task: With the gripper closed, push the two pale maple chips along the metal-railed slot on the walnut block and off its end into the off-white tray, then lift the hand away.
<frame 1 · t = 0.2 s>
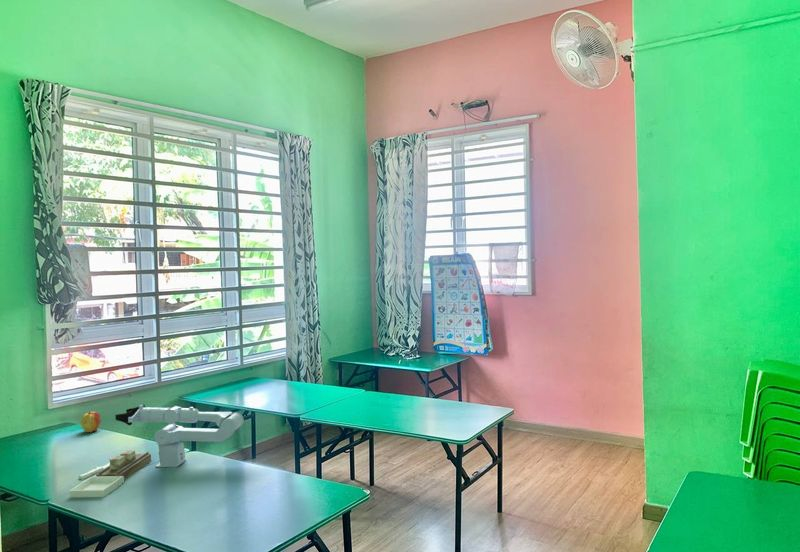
hand: (121, 414, 237), 21 cm above the table, tool horizontal, fingers open, 7 cm apart
tray: (97, 489, 213), on the table
apple: (91, 431, 288), on the table
knife: (105, 466, 239), on the table
chip front: (118, 467, 227), point 3 cm above the table, touching slot block
chip rear: (128, 461, 232), point 3 cm above the table, touching slot block
slot block: (125, 470, 231), on the table
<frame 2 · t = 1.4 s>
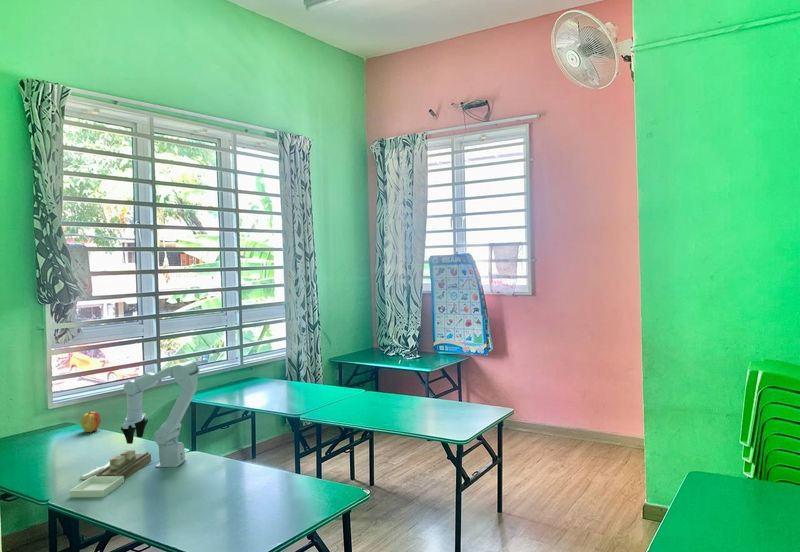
hand: (134, 440, 239), 10 cm above the table, tool pointing down, fingers open, 7 cm apart
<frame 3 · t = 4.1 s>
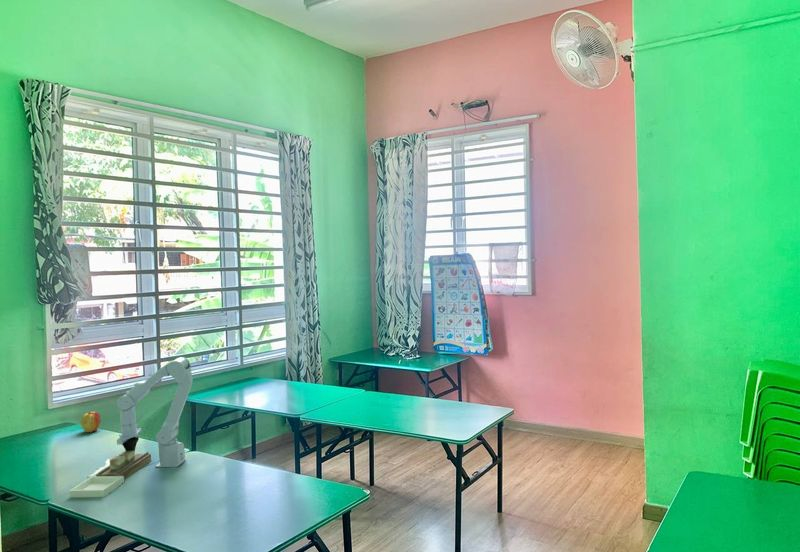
hand: (130, 456, 235), 4 cm above the table, tool pointing down, fingers closed
chip rear: (127, 462, 232), point 3 cm above the table, touching gripper
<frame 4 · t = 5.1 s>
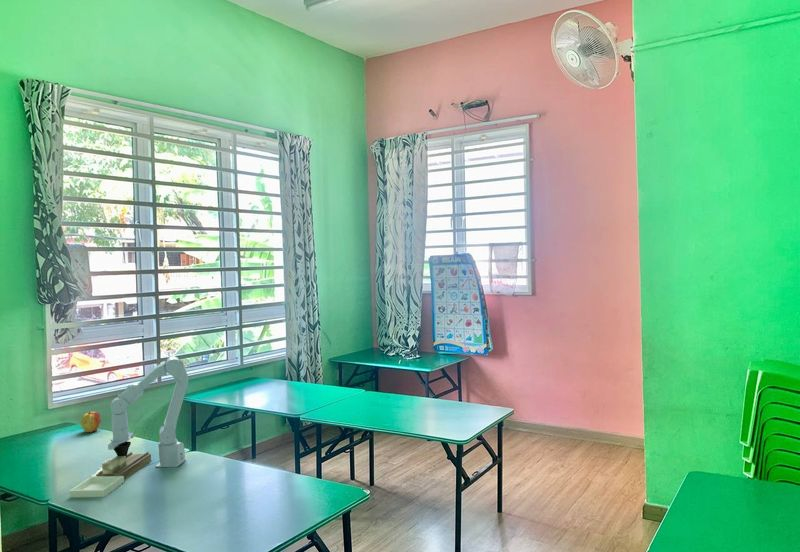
hand: (122, 461, 229), 4 cm above the table, tool pointing down, fingers closed
chip front: (110, 471, 222), point 3 cm above the table, touching chip rear
chip rear: (118, 467, 226), point 3 cm above the table, touching chip front, gripper
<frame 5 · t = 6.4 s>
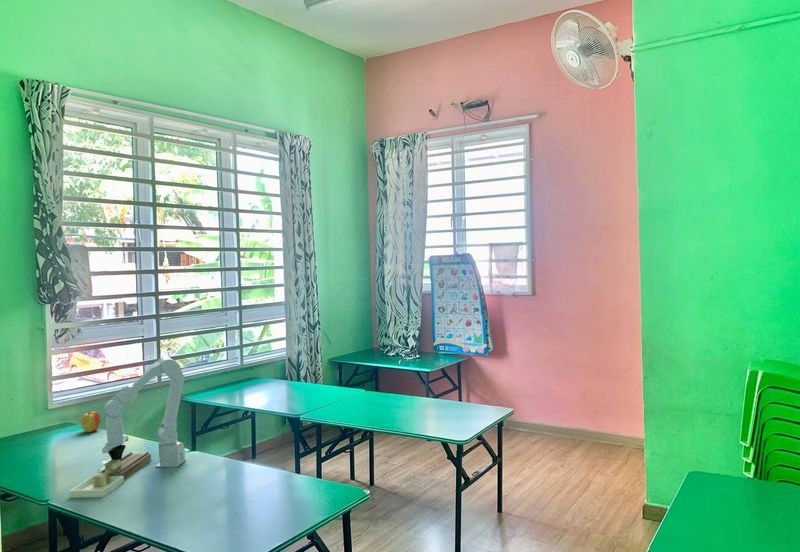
hand: (117, 464, 225), 4 cm above the table, tool pointing down, fingers closed
chip front: (104, 477, 218), point 2 cm above the table, tilted 90°, touching tray
chip rear: (113, 471, 222), point 3 cm above the table, touching gripper, slot block
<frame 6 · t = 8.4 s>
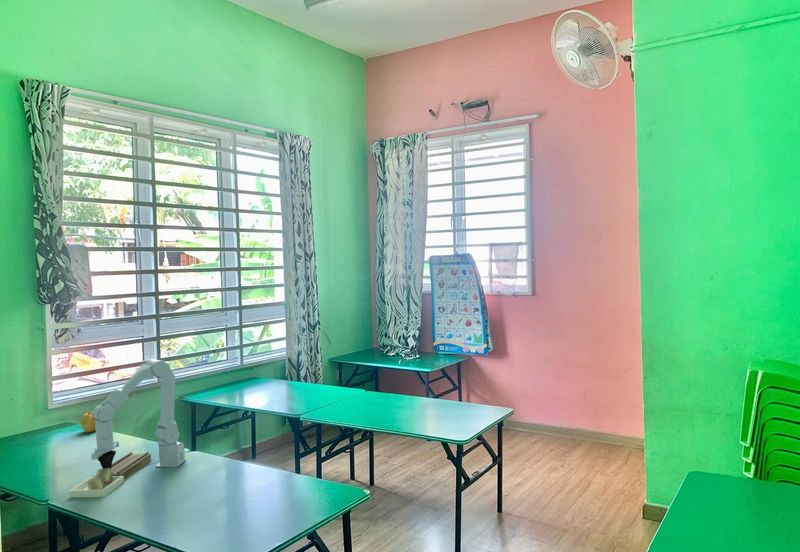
hand: (107, 471, 219), 4 cm above the table, tool pointing down, fingers closed
chip front: (98, 479, 214), point 3 cm above the table, tilted 102°, touching chip rear, tray
chip rear: (106, 479, 218), point 2 cm above the table, tilted 34°, touching chip front, gripper
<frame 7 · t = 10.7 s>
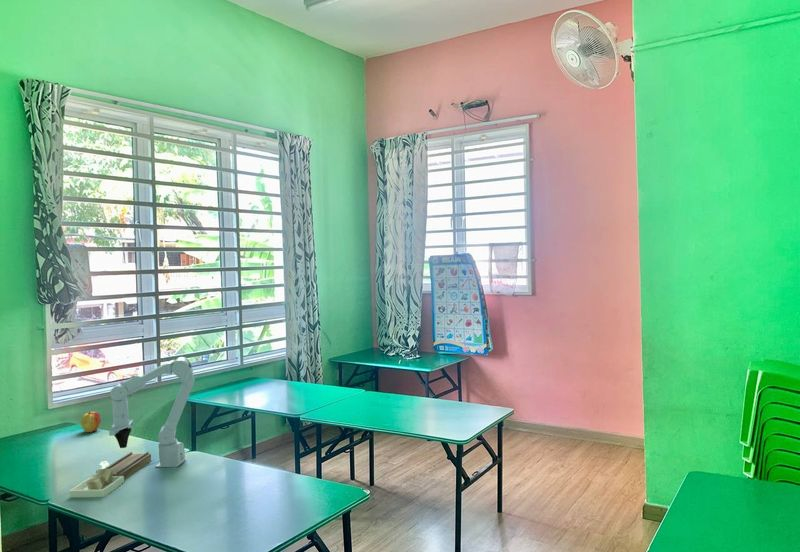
hand: (123, 447, 231), 9 cm above the table, tool pointing down, fingers closed
chip rear: (105, 480, 217), point 2 cm above the table, tilted 29°, touching chip front, tray
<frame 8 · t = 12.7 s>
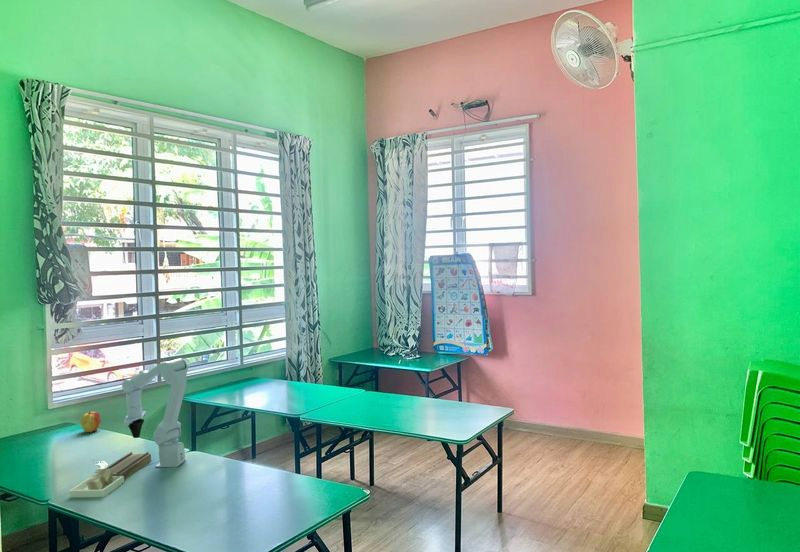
hand: (136, 437, 243), 9 cm above the table, tool pointing down, fingers closed
at the end: chip front inside the target area on the tray (1.0 cm from its centre), point 3.4 cm above the tray's base; chip rear inside the target area on the tray (4.5 cm from its centre), point 1.7 cm above the tray's base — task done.
